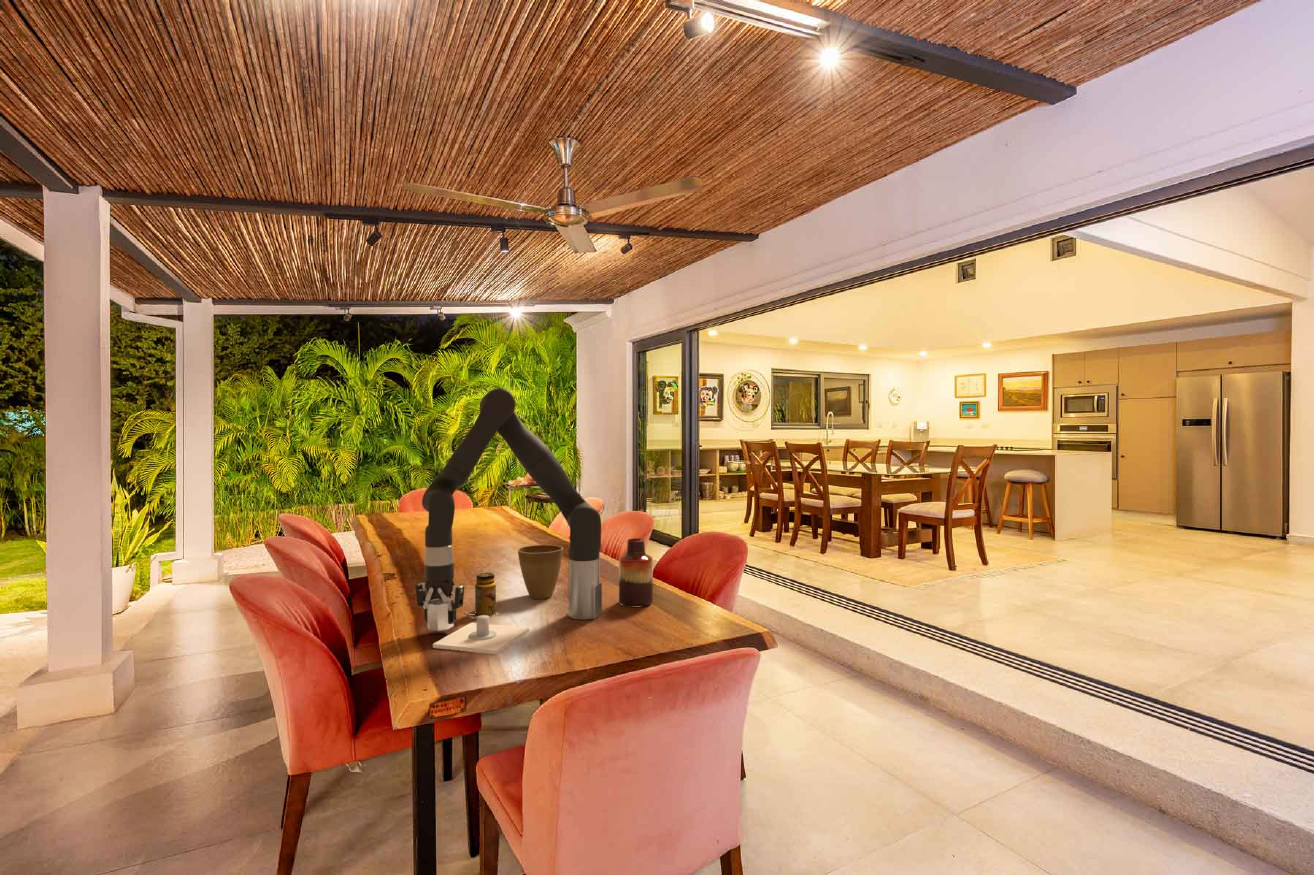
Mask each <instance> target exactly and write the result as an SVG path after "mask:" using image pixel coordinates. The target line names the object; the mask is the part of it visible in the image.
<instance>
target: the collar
mask: <svg viewBox="0 0 1314 875" xmlns="http://www.w3.org/2000/svg"><path fill="white" fill-rule="evenodd" d="M448 599H449V597H448ZM450 602H451V604H452V601H450ZM448 611H449V609H448V603H446V604H445V603H444V602H443V600H440V599H435V600H433V601H430V602H427V622H426V623H427V625H426V626H427V630H428V631H434V632H441V631H444V630H449V629H451V628H453V627H454V626H455V624H454V623H455V622H454V623H453V624H449V623H448Z"/></svg>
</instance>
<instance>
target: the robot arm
mask: <svg viewBox="0 0 1314 875" xmlns="http://www.w3.org/2000/svg"><path fill="white" fill-rule="evenodd" d="M516 404H517V403H516V399H515V396H514V394H512V392H510V391H509V390H507V389H505V388H499V387H498V388H494V389H491V390H489V391H488V392H487V393H486V394H485V395H483V397H482V398H481V400H480V402H479V414H478V415H477V418H476V419H475V421H474V423H473V425H472V426H471V428H470V429H469V431H468V432H467V433H466V436H464V438H463V439H462V440H461V442H460V443H459V444H458V446H457V447H456V449H455V450H454V451H453V453H451V456H450V458H449V459H448V460H447V462H446V464H445V466H444V467H443V469H442V471H441V472H440V473H439V474H438V475H437V477H436V478H435V479H434V480H433V481H432V482H431V483H430V485H429V486H428V487H427V488H426V490H425V492H424V494H423V495H422V499H421V505H422V507H423V508H424V510H425V511H426V512H428V524H427V525H426V527H425V531H424V532H425V533H424V541H425V542H424V543H425V544H424V579H425V582H420V583H417V584H415V587H414V588H415V594H416V595H415V596H416V604H417V606H418V607H421V608H423V610H424V614H423V615H424V621H425V622H426V623H427V602H430V601H433V600H435V599H440V600H443V602H444V603H445V604H446V603H448V609H449V611H448V623H449V624H453V623H455V622H456V621H457V609H459V608H461V607H463V606H464V598H465V586H464V585H463V584H461V585H456V583H454V578H455V565H454V564H455V562H454V561H455V560H454V558H455V556H454V555H455V554H454V548H453V524H454V519H455V518H454V517H455V511H456V508H455V507H456V503H455V498H454V496H453V495H454V494H455V492H456V491H457V489H459V488H460V487H462V486H464V484H466V482H467V481H468V479H469V477H470V476H471V474H472V473H473V471H474V470H475V469H474V468H476V466H477V464H478V462H479V460H480V459H481V457H482V455H483V454H484V452H485V450H486V448H487V447H488V445H489V444H490V442H491V440H492V439H493V438H494V436H495V435H496V433H497V434H498V435H499V436H500V437H501V438H502V439H503V440H504V441H505V443H506V444H507V446H508V447H509V448H510V450H511V452H512V453H513V455H514V456H515V457H516V459H517V460H518V462H519V463H520V465H521V466H522V467H523V469H524V470H525V472H526V473H527V474H528V475H529V477H530V478H531V479H532V480H533V481H534V482H535V484H536V485H537V486H538V488H540V489H541V490H542V491H543V492H544V493H545V494H546V495H547V496H548V498H550V499H551V500H552V501H553V502H554V504H555V506H556V507H557V508H558V510H559V511H560V513H561V514H562V517H564V519H565V521H566V523H567V526H568V527H569V549H568V617H569V618H571V619H574V620H575V619H576V620H591V619H592V620H595V619H597V618H598V617H600V615H601V614H602V613H603V609H602V608H603V607H602V606H603V600H602V598H603V597H602V596H603V594H602V593H603V592H602V590H603V583H602V582H601V581H600V551H601V547H602V519H601V515H600V512H599V511H598V510H597V509H596V508H594V507H593V506H592V505H590V504H589V502H587V501H586V500H585V498H583V497H582V495H581V494H579V492H578V490H576V488H575V487H574V486H573V484H572V482H571V481H570V479H569V477H568V475H567V473H566V470H564V468H563V466H562V464H561V463H560V461H559V460H558V458H557V457H556V455H555V454H554V453H553V452H552V451H551V449H550V448H549V447H548V446H547V445H546V443H544V441H542V440H541V439H540V438H539V437H538V436H536V434H534V433H533V432H532V431H530V430H529V429H528V428H527V427H526V425H524V423H523V422H522V421H521V419H520V418H519V416H518V414H517V413H516V412H515V410H516ZM426 591H427V595H426ZM448 598H449V599H448ZM450 601H452V604H451V602H450ZM596 617H597V618H596Z"/></svg>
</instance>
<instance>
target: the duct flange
mask: <svg viewBox="0 0 1314 875" xmlns="http://www.w3.org/2000/svg"><path fill="white" fill-rule="evenodd" d="M475 619H476V622H470V623H468V624H467V625H465V626H463V627H460V628H459V629H457V630H455V631H454V632H452V633H450V634H448V635H447V636H445V637H443V638H441V639H440V640H438V641H435V642H434V643H433V644H432V648H433V649H441V650H442V649H443V650H449V649H450V650H451V651H458V650H459V651H460V652H469V653H478V654H486V655H487V654H488V655H498V654H499V653H501V652H502V651H503V650H505V649H506V648H508V647H509V646H510V644H511V645H512V644H513V643H515V642H517V641H518V640H519V639H521V638H522V637H523V635H524V636H526V633H527V634H528V633H529V632H530V628H529V627H523V626H522V627H520V626H510V625H502V624H491V623H490V616H487V615H481V616H477V617H476V618H475ZM521 636H522V637H521ZM520 637H521V638H520ZM517 639H518V640H517ZM514 641H515V642H514Z"/></svg>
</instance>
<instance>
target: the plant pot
mask: <svg viewBox="0 0 1314 875" xmlns="http://www.w3.org/2000/svg"><path fill="white" fill-rule="evenodd" d="M563 552H564V548H563V546H561V545H555V544H554V545H553V544H536V545H535V544H534V545H527V546H522V547H520V548H518V549H517V554H518V561H519V568H520V571H521V576H522V578H523V582H524V585H525V588H526V591H527V593H528V595H529V598H531V599H536V600H539V599H540V600H541V599H547V598H551V597H552V596H553V594H554V592H555V590H556V589H555V588H556V585H557V584H558V583H557V582H558V579H559V574H560V570H561V566H562V559H563Z"/></svg>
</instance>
